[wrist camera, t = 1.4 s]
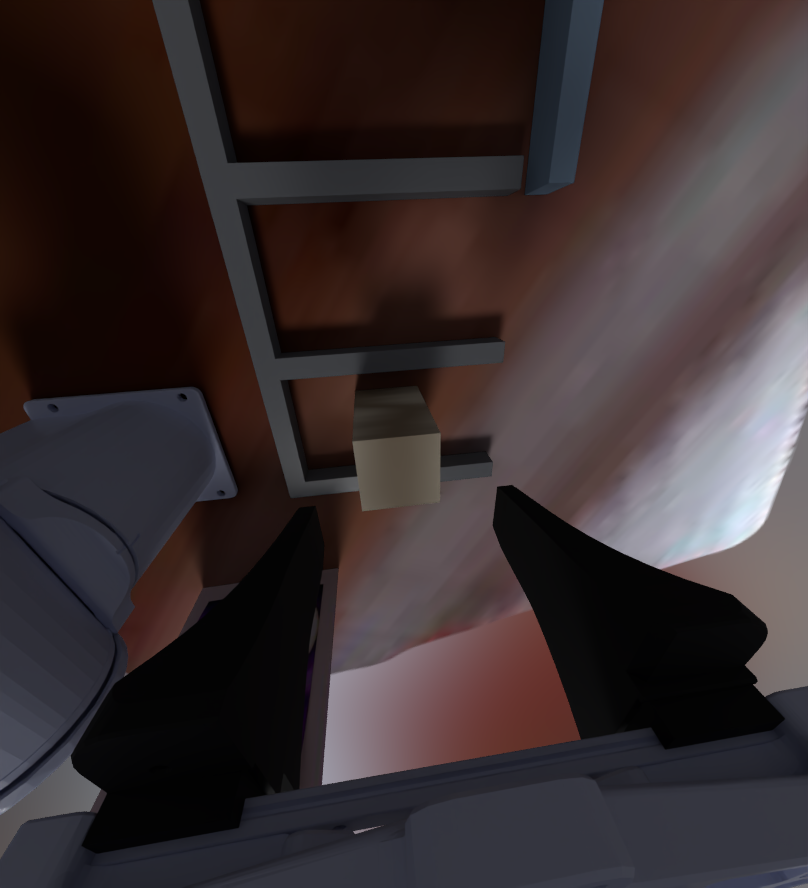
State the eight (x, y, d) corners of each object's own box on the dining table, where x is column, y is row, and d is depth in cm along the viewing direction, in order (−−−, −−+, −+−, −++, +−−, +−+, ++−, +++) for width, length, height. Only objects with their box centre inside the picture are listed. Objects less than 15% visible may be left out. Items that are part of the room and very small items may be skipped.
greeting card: (336, 561, 27) (313, 831, 14) (350, 614, 31) (342, 869, 17) (198, 581, 26) (36, 887, 13) (229, 633, 30) (125, 915, 17)
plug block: (362, 445, 22) (362, 511, 16) (355, 390, 20) (352, 441, 14) (418, 439, 22) (440, 502, 16) (416, 385, 20) (440, 433, 14)
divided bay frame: (294, 485, 23) (287, 506, 21) (129, -141, 11) (72, -243, 8) (510, 462, 24) (525, 480, 22) (588, -119, 12) (637, -204, 10)
